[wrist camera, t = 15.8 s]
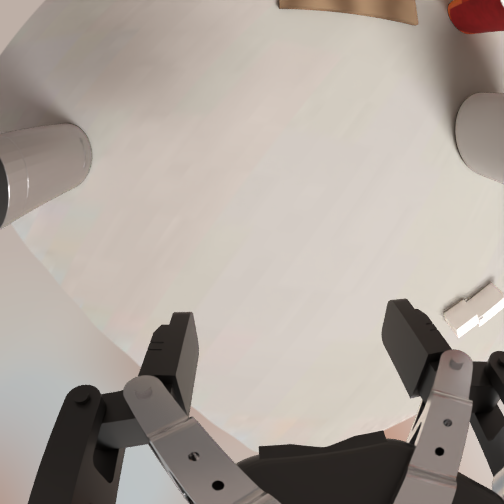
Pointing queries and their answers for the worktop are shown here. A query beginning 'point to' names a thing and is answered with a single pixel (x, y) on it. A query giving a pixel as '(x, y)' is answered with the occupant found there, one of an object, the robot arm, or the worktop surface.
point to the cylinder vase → (482, 134)
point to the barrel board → (361, 8)
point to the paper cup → (477, 15)
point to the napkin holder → (475, 310)
